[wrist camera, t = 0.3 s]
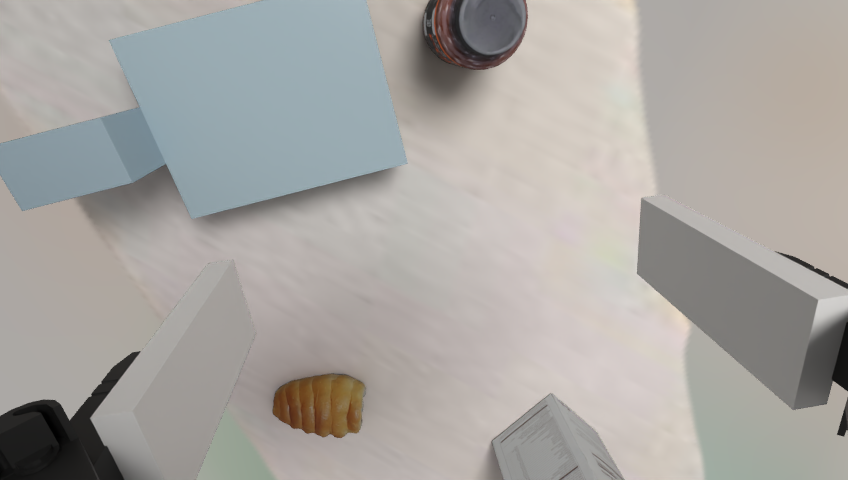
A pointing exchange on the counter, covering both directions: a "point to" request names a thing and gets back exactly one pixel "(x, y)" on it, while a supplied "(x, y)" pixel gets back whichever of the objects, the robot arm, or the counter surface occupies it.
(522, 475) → the supplement box
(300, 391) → the pastry
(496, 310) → the counter surface
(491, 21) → the supplement bottle
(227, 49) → the lid
